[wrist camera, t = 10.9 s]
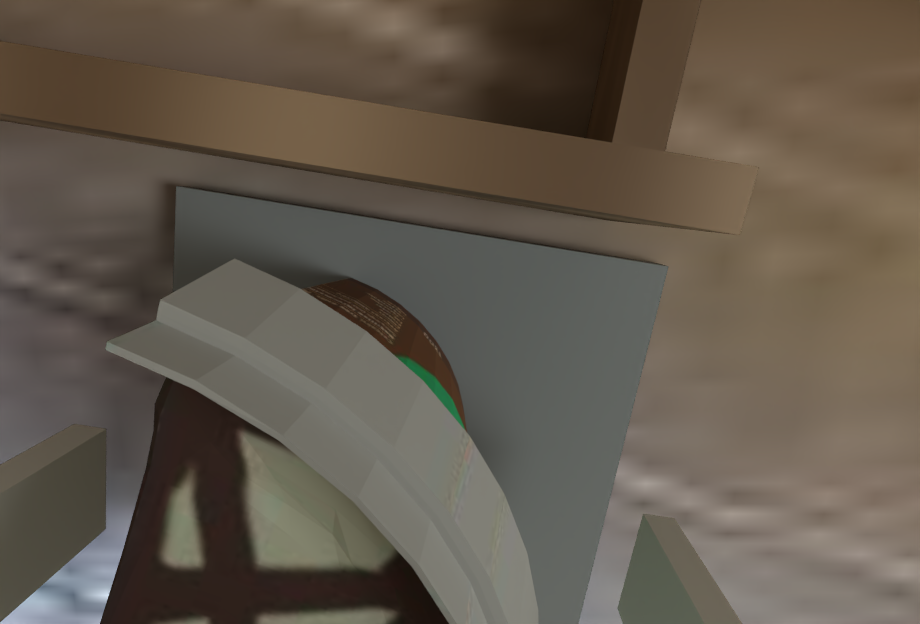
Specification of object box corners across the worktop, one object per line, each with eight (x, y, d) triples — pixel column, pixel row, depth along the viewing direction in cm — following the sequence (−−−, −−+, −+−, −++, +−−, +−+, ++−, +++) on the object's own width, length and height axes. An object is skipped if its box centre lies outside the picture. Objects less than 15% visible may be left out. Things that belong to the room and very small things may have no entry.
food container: (423, 636, 17) (357, 1240, 7) (250, 578, 16) (-74, 1127, 7) (568, 305, 14) (783, 525, 4) (367, 228, 14) (118, 284, 4)
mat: (660, 264, 14) (668, 266, 14) (563, 652, 17) (566, 667, 17) (188, 187, 14) (176, 186, 14) (172, 591, 17) (161, 605, 17)
